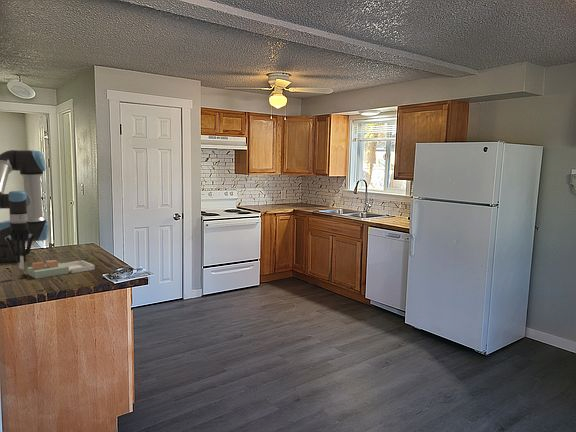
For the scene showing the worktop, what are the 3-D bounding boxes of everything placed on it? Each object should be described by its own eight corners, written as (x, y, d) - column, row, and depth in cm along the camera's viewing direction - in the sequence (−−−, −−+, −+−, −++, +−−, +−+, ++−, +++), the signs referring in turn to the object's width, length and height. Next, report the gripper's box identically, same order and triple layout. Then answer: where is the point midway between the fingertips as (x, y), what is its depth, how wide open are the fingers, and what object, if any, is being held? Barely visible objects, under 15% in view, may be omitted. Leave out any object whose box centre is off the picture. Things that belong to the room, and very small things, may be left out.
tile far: (45, 266, 229) (45, 260, 229) (55, 265, 233) (54, 259, 232) (49, 268, 226) (48, 262, 226) (58, 266, 230) (58, 261, 229)
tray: (59, 268, 240) (59, 263, 240) (82, 264, 249) (82, 260, 249) (71, 273, 229) (70, 269, 229) (94, 269, 239) (94, 265, 238)
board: (27, 273, 227) (26, 267, 227) (59, 268, 239) (59, 262, 238) (36, 278, 218) (35, 272, 218) (69, 273, 230) (68, 266, 230)
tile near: (32, 268, 225) (32, 262, 224) (41, 267, 228) (41, 261, 228) (35, 270, 222) (35, 264, 221) (44, 268, 225) (44, 262, 225)
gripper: (6, 224, 209) (9, 272, 212) (36, 221, 218) (38, 267, 221) (1, 222, 214) (4, 269, 217) (30, 220, 223) (33, 265, 226)
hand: (21, 268), depth 219 cm, fingers closed
